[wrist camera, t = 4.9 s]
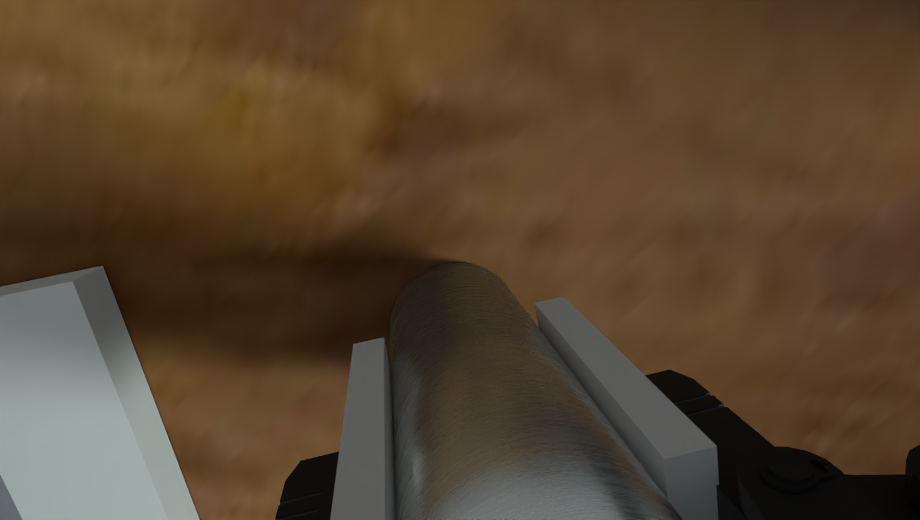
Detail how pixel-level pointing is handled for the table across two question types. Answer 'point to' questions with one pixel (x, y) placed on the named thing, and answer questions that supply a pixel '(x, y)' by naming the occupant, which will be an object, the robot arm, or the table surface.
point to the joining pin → (499, 414)
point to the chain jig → (79, 410)
